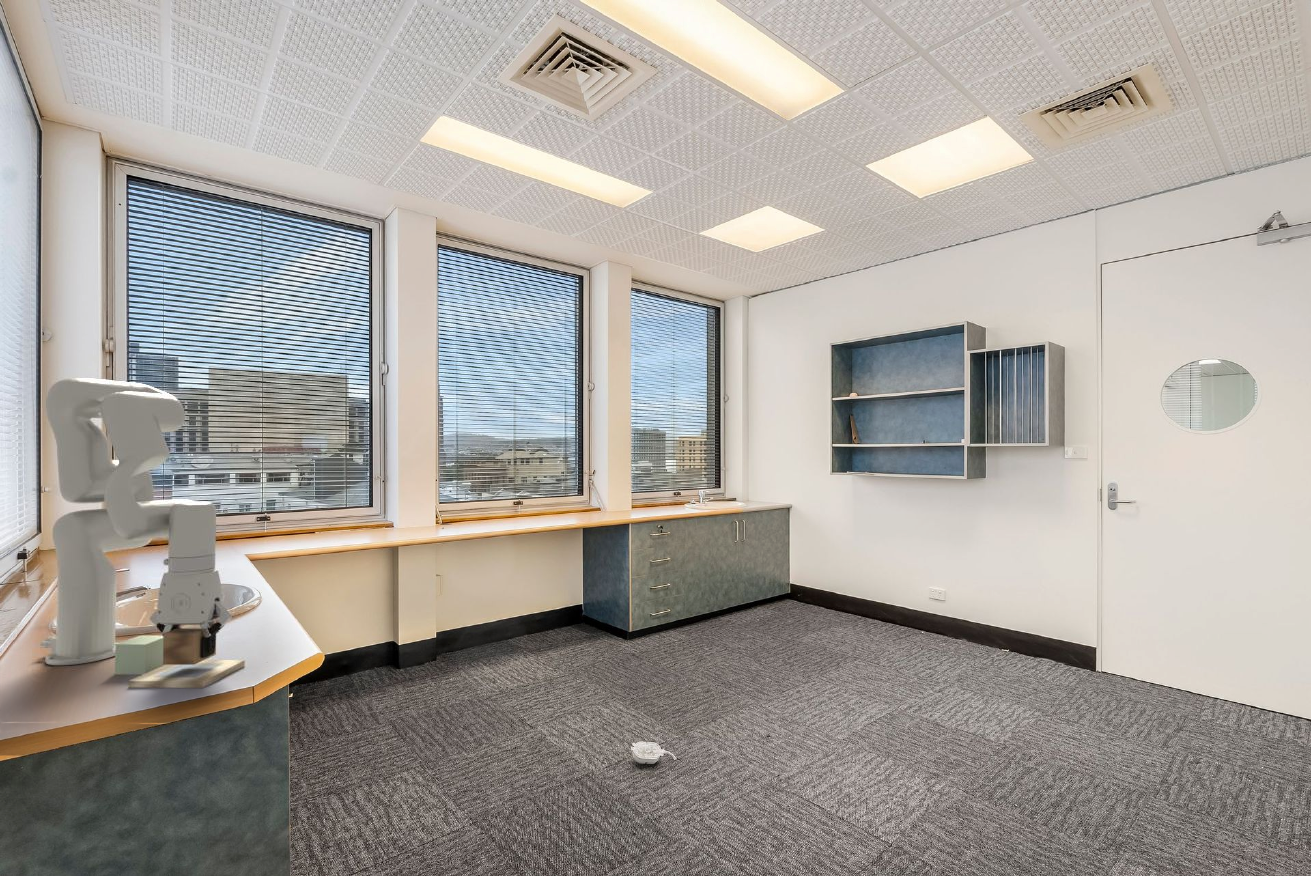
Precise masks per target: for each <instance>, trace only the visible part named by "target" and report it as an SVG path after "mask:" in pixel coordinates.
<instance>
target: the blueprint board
mask: <svg viewBox="0 0 1311 876" xmlns="http://www.w3.org/2000/svg"><path fill="white" fill-rule="evenodd" d="M245 663H246V661H245V660H244V659H205V660H203V661H201V662H199V663H197V664H195V665H164V666H162V667H159V668H157V669H155V670H152V671H150V672H148V673H146V674H140V675H139V676H137V677H135V678H131V679H130V680H128V686H127V687H128V688H145V689H146V688H147V689H148V688H151V689H152V688H153V689H154V688H157V689H161V688H163V689H164V688H167V689H168V688H171V689H172V688H174V689H177V688H179V689H182V688H183V689H185V688H186V689H201V688H203V689H204V688H205V687H207V686H209V685H211V684H213V683H215V682H217V681H219V680H220V679H221V680H222V678H224V677H227V676H228V675H229V676H230V675H231V674H232V673H234V672H236V671H238V670H240V669H241V668H243V667H245V665H246V664H245Z"/></svg>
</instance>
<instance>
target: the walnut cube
mask: <svg viewBox="0 0 1311 876" xmlns="http://www.w3.org/2000/svg"><path fill="white" fill-rule="evenodd" d="M209 628H210V627H209ZM202 637H204V635H203V633H202V630H201V627H200V625H199V624H196V625H181V626H180V627H179V628H177V629H174V630H171V631H169V632H166V633H164V638H163V665H195V664H197V663H199V662H201V661H203V660H208V659H209V658H211V657H214V656H215V655H217V639H216V640H215V652H214V654H212V655H210V656H208V657H205V658H201V657H200V649H201V638H202Z"/></svg>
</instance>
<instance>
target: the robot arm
mask: <svg viewBox="0 0 1311 876" xmlns="http://www.w3.org/2000/svg"><path fill="white" fill-rule="evenodd" d="M45 399H46V400H45V413H46V417H47V419H48V420H47V421H48V423H49V426H50V428H51V430H52V432H53V435H54V439H55V442H56V453H57V454H56V455H57V471H58V472H57V473H58V484H59V491H60V495H61V497H62V498H63V500H64V501H66V502H68V503H71V504H78V505H79V504H81V505H82V504H83V505H85V504H100V503H101V504H102V503H103V504H104V506H105V508H96V509H83V510H75V511H72V512H68V513H66V514H64V515H61V516H60V517H59V518H58V519H57V520H56V521H55V523H54V525H53V527H52V540H53V545H54V550H55V555H56V564H57V601H56V631H55V634H56V635H54V636H50V635H49V636H47V637H46V638H45V639H44V640H43V641H41V642H40V644H39V646H40V648H41V649H50V653H49V654H47V655H46V656H45V657H44V658H45V659H44V660H45V661H44V662H45V663H46V664H47V665H49V666H50V665H51V666H72V665H81V664H88V663H93V662H98V661H102V660H105V659H110V658H112V657H115V644H118V643H119V642H116V619H117V618H116V617H117V615H116V614H117V582H118V581H117V580H118V579H117V578H118V577H117V576H118V575H117V569H116V567H115V565H114V564H113V563H112V562H111V561H110V560H109V559H108V558H107V557H106V555H105V554H106V553H109V552H115V551H122V550H123V551H124V550H130V549H132V550H133V549H138V548H142V547H144V546H147V545H148V544H149V543H151V541H152V540H153V539H159V538H168V556H167V558H165V559H164V560H163V565H164V566H167V571H166V572H164V573H163V575H162V578H161V581H160V586H159V591H158V596H157V597H158V598H157V605H156V606H157V607H156V610H155V611H154V612H153V613H152V614H151V615H150V617H149V620H150V621H151V622H152V623H153V624H154V625H155V626H156V628H157V630H159V631H160V633H161V636H163V637H164V633H166V632H169V631H171V630H174V629H177V628H179V627H182V626H185V625H200V627H201V630H202V633H203V635H204V637H202V638H201V649H200V657H201V658H205V657H208V656H210V655H212V654H214V652H215V640H216V641H217V634H218V633H219V632H220V630H222V629H223V627H224V626H225V625H226V624H228V622H230V620H231V619H232V618H233V615H232V614H231V613H230V612H229V610H227V608H225V606H224V605H223V593H222V590H223V589H222V584H221V582H222V581H221V577H220V574H219V570H218V569H216V542H217V541H216V536H217V535H216V534H217V531H216V529H217V507H216V505H215V504H214V503H213V502H211V501H194V500H191V499H184V498H182V499H181V498H180V499H179V498H177V499H160V500H155V497H154V496H155V493H154V483H153V477H152V474H151V472H150V470H153V469H155V468H157V467H159V466H160V465H163V464H164V463H165V462H167V460H169V457H170V449H169V447H168V444H167V442H166V440H165V437H164V434H163V433H174V432H177V431H178V430H179V431H180V429H181V428H182V427H183V425H184V424H185V420H186V412H185V409H184V408H185V407H184V406H183V404H182V403H181V402H180V400H179V399H178V398H176V397H175V396H174V395H172V394H170V393H167V392H165V391H163V390H160V389H157V388H155V387H153V386H150V385H147V384H143V383H137V382H128V381H127V382H126V381H117V380H109V379H97V378H85V377H83V378H82V377H77V378H75V377H74V378H65V379H61V380H58V381H57V382H55V383H54V384H52V386H50V388H49V390H48V392H47V394H46V398H45ZM92 419H102V421H103V423H104V426H105V429H106V432H107V435H108V437H109V439H108V437H107V435H106V434H105V432H104V431H103V430H102V429H101V428H100V427H99V426H98V425H97V423H95V422H94V421H93V420H92ZM109 440H110V442H111V445H112V448H113V451H114V454H115V455H116V458H117V459H112V458H111V455H110V454H111V453H110V443H109ZM217 619H218V620H217ZM216 620H217V621H216ZM209 627H210V628H209Z"/></svg>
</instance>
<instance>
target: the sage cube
mask: <svg viewBox="0 0 1311 876" xmlns="http://www.w3.org/2000/svg"><path fill="white" fill-rule="evenodd" d="M163 638H164V637H163V636H162V635H138V636H134V637H132V638H129V639H126V640H123V641H120V642H117V643H118V644H115V656H114V675H143V674H146V673H148V672H150V671H152V670H155V669H157V668H159V667H162V666H164V665H163Z"/></svg>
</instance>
